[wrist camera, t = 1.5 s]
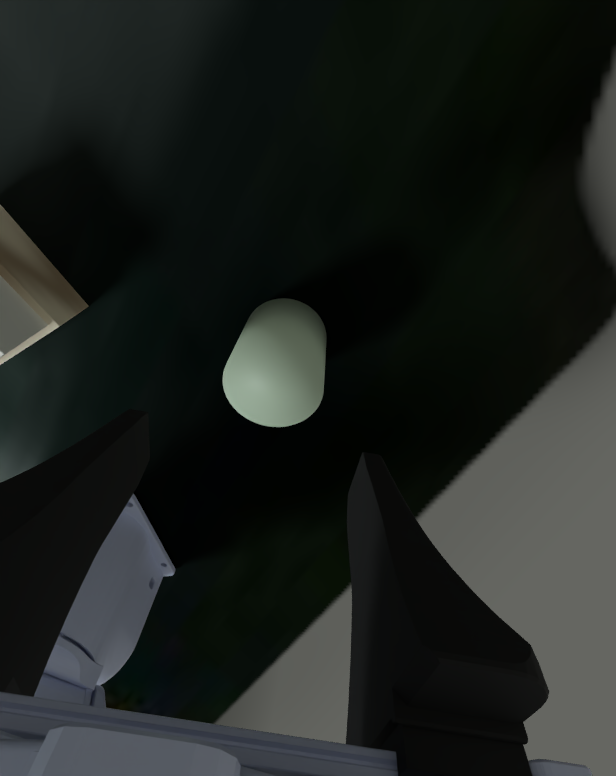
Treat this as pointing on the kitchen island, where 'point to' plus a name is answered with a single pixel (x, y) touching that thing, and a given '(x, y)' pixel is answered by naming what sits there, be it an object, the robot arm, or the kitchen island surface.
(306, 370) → the sage cylinder
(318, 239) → the kitchen island surface
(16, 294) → the tower top block
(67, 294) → the tower base block
